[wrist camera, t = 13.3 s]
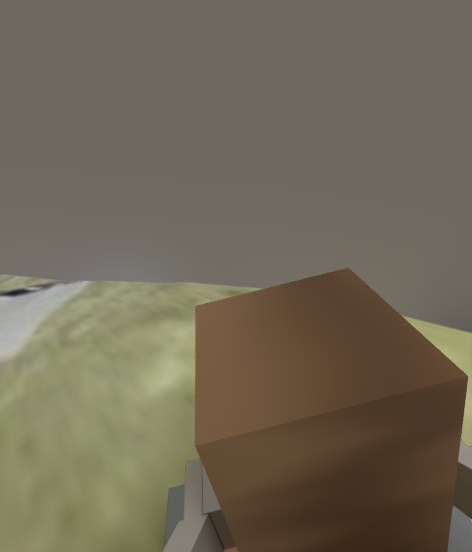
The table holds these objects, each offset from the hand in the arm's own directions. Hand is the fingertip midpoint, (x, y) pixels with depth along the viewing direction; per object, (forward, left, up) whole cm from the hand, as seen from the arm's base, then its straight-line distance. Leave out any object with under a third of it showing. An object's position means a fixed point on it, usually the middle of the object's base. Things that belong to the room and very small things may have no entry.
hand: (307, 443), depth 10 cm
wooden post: (0, -1, -7) cm, 7 cm away
